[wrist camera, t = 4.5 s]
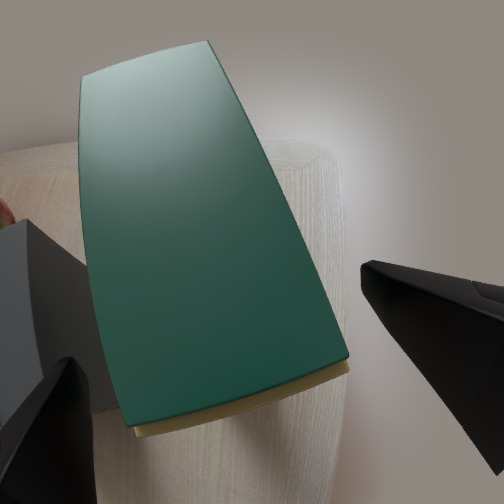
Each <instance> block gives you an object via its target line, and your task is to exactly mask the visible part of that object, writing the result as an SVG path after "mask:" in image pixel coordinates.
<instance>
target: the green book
mask: <svg viewBox="0 0 504 504" xmlns="http://www.w3.org/2000/svg"><path fill="white" fill-rule="evenodd" d="M78 126H79V127H78V169H79V192H80V207H81V220H82V230H83V239H84V248H85V256H86V263H87V270H88V276H89V283H90V289H91V294H92V300H93V305H94V310H95V315H96V320H97V325H98V329H99V334H100V338H101V342H102V346H103V350H104V354H105V358H106V362H107V366H108V370H109V373H110V377H111V380H112V384H113V387H114V390H115V394H116V397H117V400H118V403H119V406H120V409H121V412H122V415H123V418H124V421H125V424H126V426H127V427H133V428H134V431H135V434H136V436H137V438H144V437H149V436H154V435H159V434H163V433H168V432H172V431H177V430H181V429H185V428H189V427H193V426H197V425H201V424H204V423H208V422H212V421H215V420H219V419H222V418H226V417H229V416H232V415H236V414H239V413H242V412H245V411H248V410H252V409H255V408H258V407H261V406H264V405H266V404H269V403H272V402H275V401H278V400H281V399H283V398H286V397H289V396H291V395H294V394H297V393H299V392H302V391H304V390H307V389H309V388H312V387H314V386H317V385H319V384H322V383H324V382H327V381H329V380H331V379H334V378H336V377H338V376H340V375H343V374H345V373H347V372H348V371H349V366H348V363H347V360H346V359H348V358H349V352H348V349H347V347H346V344H345V341H344V339H343V336H342V333H341V331H340V328H339V326H338V323H337V320H336V318H335V315H334V313H333V310H332V308H331V305H330V302H329V300H328V297H327V295H326V292H325V290H324V287H323V285H322V282H321V280H320V278H319V275H318V273H317V270H316V268H315V265H314V263H313V261H312V258H311V256H310V253H309V251H308V249H307V246H306V244H305V242H304V239H303V237H302V235H301V232H300V230H299V228H298V225H297V223H296V221H295V218H294V216H293V214H292V212H291V209H290V207H289V205H288V203H287V200H286V198H285V196H284V194H283V191H282V189H281V187H280V185H279V183H278V180H277V178H276V176H275V174H274V172H273V169H272V167H271V165H270V163H269V161H268V159H267V157H266V154H265V152H264V150H263V148H262V146H261V144H260V142H259V140H258V138H257V136H256V133H255V131H254V129H253V127H252V125H251V123H250V121H249V119H248V117H247V115H246V113H245V111H244V109H243V107H242V105H241V103H240V101H239V99H238V97H237V95H236V93H235V91H234V89H233V87H232V85H231V83H230V81H229V79H228V77H227V75H226V73H225V72H224V69H223V68H222V66H221V64H220V62H219V60H218V58H217V56H216V54H215V52H214V51H213V49H212V47H211V45H210V43H209V41H208V40H205V41H200V42H196V43H191V44H186V45H182V46H178V47H174V48H170V49H166V50H162V51H158V52H154V53H151V54H147V55H144V56H140V57H137V58H134V59H131V60H128V61H125V62H121V63H118V64H116V65H113V66H110V67H107V68H104V69H101V70H99V71H96V72H93V73H91V74H89V75H86V76H83V77H82V78H81V86H80V100H79V124H78Z"/></svg>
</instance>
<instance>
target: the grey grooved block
mask: <svg viewBox="0 0 504 504" xmlns="http://www.w3.org/2000/svg"><path fill="white" fill-rule="evenodd" d="M68 356H73V357H74V358H75V359H76V360H77V362H78V363H79V364H80V366H81V367H82V369H83V370H84V372H85V373H86V375H87V377H88V380H89V389H90V401H91V412H92V414H96V413H100V412H103V411H107V410H111V409H114V408H118V407H120V406H119V403H118V400H117V397H116V394H115V390H114V387H113V384H112V380H111V377H110V373H109V370H108V366H107V362H106V358H105V354H104V350H103V346H102V342H101V338H100V334H99V329H98V325H97V320H96V315H95V310H94V305H93V300H92V294H91V289H90V283H89V276H88V270H87V266H86V265H84V264H83V263H82V262H80V261H79V260H78V259H76V258H75V257H74V256H72V255H71V254H70V253H69V252H67V251H66V250H65V249H64V248H62V247H61V246H60V245H58V244H57V243H56V242H55V241H54V240H52V239H51V238H50V237H49V236H47V235H46V234H45V233H44V232H43V231H41V230H40V229H39V228H38V227H37V226H35V225H34V224H33V223H32V222H31V221H29V220H28V219H27V218H26V219H23V220H21V221H19V222H17V223H15V224H13V225H10V226H8V227H6V228H4V229H2V230H0V428H2V427H3V426H4V425H5V423H6V422H7V421H8V420H9V418H10V417H11V416H12V415H13V413H14V412H15V411H16V410H17V409H18V407H19V406H20V405H21V404H22V403H23V401H24V400H25V399H26V398H27V397H28V395H29V394H30V393H31V392H32V391H33V390H34V388H35V387H36V386H37V385H38V384H39V383H40V381H41V380H42V379H43V378H44V377H45V376H46V375H47V373H48V372H49V371H50V370H51V369H52V368H53V367H54V365H55V364H56V363H57V362H58V361H59V360H60V359H61V358H64V357H68Z"/></svg>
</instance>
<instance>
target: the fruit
mask: <svg viewBox="0 0 504 504" xmlns="http://www.w3.org/2000/svg"><path fill="white" fill-rule="evenodd" d="M15 223H16V222H15V218H14V216H13V214H12V212H11V211H10V209H9V207H8V206H7V204H6V203H5V202H4V200H3V199H2V197H1V196H0V230H2V229H4V228H6V227H8V226H10V225H13V224H15Z"/></svg>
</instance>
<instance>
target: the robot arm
mask: <svg viewBox="0 0 504 504" xmlns="http://www.w3.org/2000/svg"><path fill="white" fill-rule="evenodd" d="M360 272H361V290H362V293H363V295H364V296H365V298H366V299H367V300H368V302H369V304H370V305H371V307H372V308H373V310H374V311H375V313H376V314H377V316H378V317H379V319H380V321H381V322H382V324H383V325H384V326H385V328H386V329H387V330H388V332H389V333H390V335H391V336H392V337H393V338H394V339H395V341H396V342H397V343H398V344H399V346H400V347H401V348H402V349H403V351H404V352H405V353H406V354H407V356H408V357H409V358H410V359H411V361H412V362H413V363H414V364H415V366H416V367H417V368H418V369H419V371H420V372H421V373H422V374H423V376H424V377H425V378H426V380H427V381H428V382H429V384H430V385H431V386H432V387H433V389H434V390H435V391H436V393H437V394H438V395H439V397H440V398H441V399H442V401H443V402H444V403H445V405H446V406H447V407H448V409H449V410H450V411H451V412H452V414H453V415H454V417H455V418H456V419H457V421H458V422H459V424H460V425H461V426H462V427H463V429H464V431H465V432H466V433H467V435H468V436H469V437H470V439H471V440H472V442H473V443H474V445H475V446H476V448H477V449H478V450H479V452H480V453H481V455H482V456H483V457H484V459H485V460H486V462H487V463H488V465H489V466H490V468H491V469H492V471H493V472H494V473H495V475H496V476H498V475H499V474H500V473H501V472H502V471H503V470H504V287H503V286H497V285H491V284H486V283H481V282H477V281H472V282H471V280H467V279H462V278H458V277H453V276H449V275H444V274H439V273H434V272H430V271H424V270H420V269H415V268H410V267H405V266H400V265H396V264H391V263H385V262H381V261H376V260H371V261H368V262H366V263H363V264H362V265H361V268H360ZM0 504H97V495H96V485H95V472H94V453H93V422H92V412H91V401H90V389H89V380H88V377H87V375H86V373H85V372H84V370H83V369H82V367H81V366H80V364H79V363H78V362H77V360H76V359H75V358H74V357H73V356H68V357H64V358H61V359H60V360H59V361H58V362H57V363H56V364H55V365H54V367H53V368H52V369H51V370H50V371H49V372H48V373H47V375H46V376H45V377H44V378H43V379H42V380H41V381H40V383H39V384H38V385H37V386H36V387H35V388H34V390H33V391H32V392H31V393H30V394H29V395H28V397H27V398H26V399H25V400H24V401H23V403H22V404H21V405H20V406H19V407H18V409H17V410H16V411H15V412H14V413H13V415H12V416H11V417H10V418H9V420H8V421H7V422H6V423H5V425H4V426H3V427H2V428H1V430H0Z"/></svg>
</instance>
